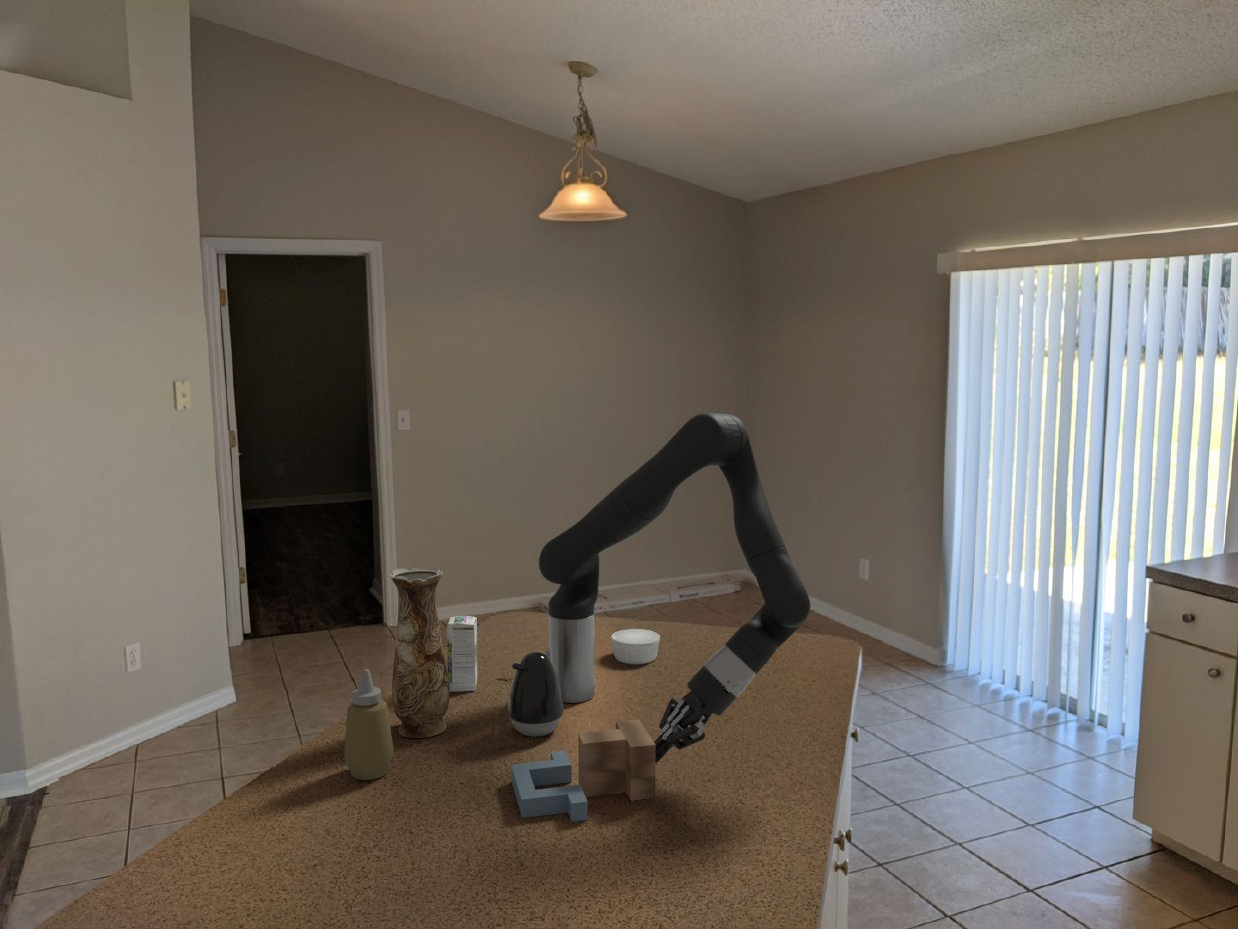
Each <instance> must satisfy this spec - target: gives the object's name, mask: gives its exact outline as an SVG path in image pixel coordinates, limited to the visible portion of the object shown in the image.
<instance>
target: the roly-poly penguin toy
mask: <svg viewBox="0 0 1238 929" xmlns="http://www.w3.org/2000/svg"><path fill="white" fill-rule="evenodd" d="M511 667H512V669H513V670H516V671H515V673H514V676H513V678H512V683H511V687H510V693H509V700H508V705H507V706H508V709H507V711H508V712H507V714H508V717H509V718H510V720H511V723H512V725H513V727H514V729H515V730H516V731H518V732H519V733H520V734H522V735H524V736H527V737H536V738H537V737H543V736H546V735H549V734H551V733H552V732H553V731H555V730H556V729H557V727H558V726H559V724H560V722H561V719H562V716H563V714H564V702H563V699H562V693H561V688H560V684H559V681H558V678H557V675H556V672H555V670H554V667H553V665H552V663H551V662H550V660H549V658H548V657H547V656H546V655H545V653H543V652H541V651H531V652H528V653H527V654H525V655H524V656H523V657H522V658H521V660H520V662H517V663H516V662H514V663H513V664H512V666H511Z"/></svg>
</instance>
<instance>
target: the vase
mask: <svg viewBox="0 0 1238 929" xmlns="http://www.w3.org/2000/svg"><path fill="white" fill-rule="evenodd" d="M443 574H444V572H443V570H441V568H438V567H436V566H435V567H434V566H425V567H423V568H422V569H420V568H417V567H413V568H411V569H410V570H408V569H407V568H397V569H394V570H392V571H391V573H390V574H389V577H390V579H391V581H392V582H393V584H394V585H395V587H396V589H397V592H398V606H397V610H398V611H397V623H396V635H395V636H396V637H395V638H396V639H395V646H394V647H395V648H394V660H393V671H392V679H391V680H392V684H391V686H392V687H391V693H392V694H391V695H392V696H391V698H392V704H393V705H392V707H393V711H394V714H395V716H396V717H397V718H398V719H399V721H401V724H400V726H399V728H398V734H399V735H401V737H405V738H408V739H425V738H431V737H435V736H437V735H441V733H443V732H445V731H446V729H447V724H446V722H445V721H444V718H443V717H444V716H445V715H446V714H447V711H448V710H449V705H450V692H449V679H448V665H447V662H446V656H445V650H444V643H443V639H442V638H443V637H442V632H441V627H440V621H439V613H438V612H439V611H438V606H437V599H436V596H437V595H436V590H437V586H438V584H439V582H440V580H441V578H442V576H443Z"/></svg>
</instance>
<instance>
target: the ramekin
mask: <svg viewBox="0 0 1238 929" xmlns="http://www.w3.org/2000/svg"><path fill="white" fill-rule="evenodd" d="M610 641H611V642H612V643H611V644H612V650H613V655H614V657H615V659H616V660H617V661H618V662H620V663H623V664H627V665H646V664H650V663H652V662H653V661H654V660H655V659H656V658H657V655H658V651H659V645H660V644H659V643H660V641H661V636H660V634H659V633H657V632H656V631H653V630H648V629H642V628H629V629H623V630H619V631H618V630H617V631H616V632H614V633H612V634H611V637H610Z"/></svg>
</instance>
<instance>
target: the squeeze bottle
mask: <svg viewBox="0 0 1238 929" xmlns="http://www.w3.org/2000/svg"><path fill="white" fill-rule="evenodd" d="M373 682H374V681H373V679H372V675H371V672H370V669H368V668H366V669H362V671H361V675H360V680H359V686H358V688H357V689H355V690H353V691H352V695H351V696H352V702H351V703H350V704H349V705H347V707H346V709H347V710H346V711H347V712H346V724H345V737H344V738H345V741H344V754H343V755H344V756H343V757H344V760H345V762H346V765H347V767H348V770H349V772H350V775H351V776H352V777H353V778H354V779H356V780H359V781H371V780H372V781H373V780H375V779H378V778H382V777H384V776H385V775H386V774H387V773H388V771H389V768H390V763H391V761H392V758H393V754H394V745H393V744H394V742H393V737H392V730H391V724H390V722H391V721H390V715H389V710H388V703H387V702H386V701H385V700H383V699H382V691H381V688H379V687H376V686H374V683H373Z"/></svg>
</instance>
